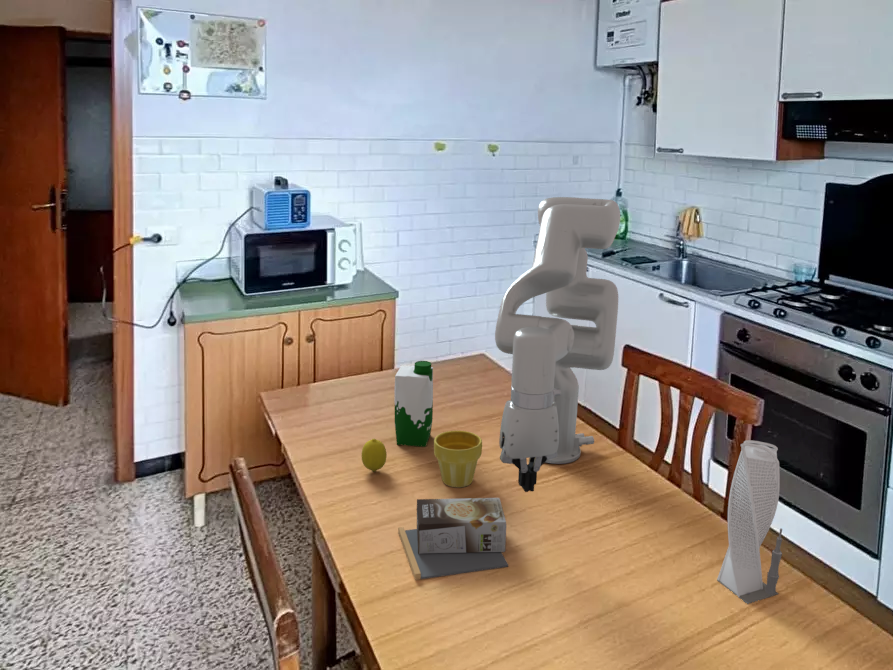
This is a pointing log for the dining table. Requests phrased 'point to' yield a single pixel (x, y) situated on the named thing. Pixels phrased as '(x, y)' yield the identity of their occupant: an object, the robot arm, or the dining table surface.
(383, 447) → the lemon
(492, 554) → the mat
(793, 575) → the dining table surface
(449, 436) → the plant pot
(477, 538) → the coffee box
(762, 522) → the skyscraper
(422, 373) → the milk carton
